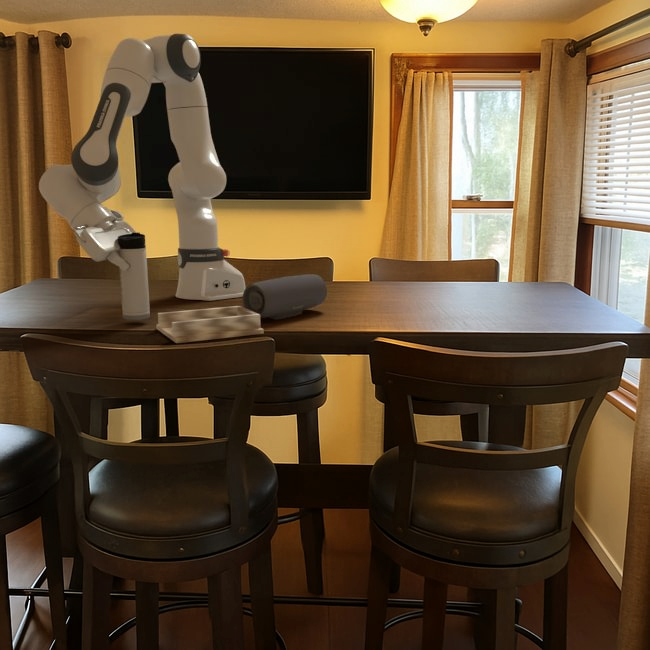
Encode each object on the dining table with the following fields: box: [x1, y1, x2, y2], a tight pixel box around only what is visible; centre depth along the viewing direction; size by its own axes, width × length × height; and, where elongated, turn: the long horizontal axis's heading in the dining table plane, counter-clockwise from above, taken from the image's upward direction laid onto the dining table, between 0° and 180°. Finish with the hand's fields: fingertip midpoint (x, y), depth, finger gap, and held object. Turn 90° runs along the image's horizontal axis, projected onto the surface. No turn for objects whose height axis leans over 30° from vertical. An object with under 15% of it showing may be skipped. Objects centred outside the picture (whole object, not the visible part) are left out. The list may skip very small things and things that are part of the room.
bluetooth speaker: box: [241, 273, 328, 320], centre depth 173 cm, size 23×9×10 cm, turn 141°
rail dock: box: [155, 305, 265, 344], centre depth 156 cm, size 20×16×4 cm
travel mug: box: [118, 232, 151, 321], centre depth 162 cm, size 6×7×20 cm
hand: (135, 266), depth 161 cm, fingers closed on travel mug, 6 cm apart
